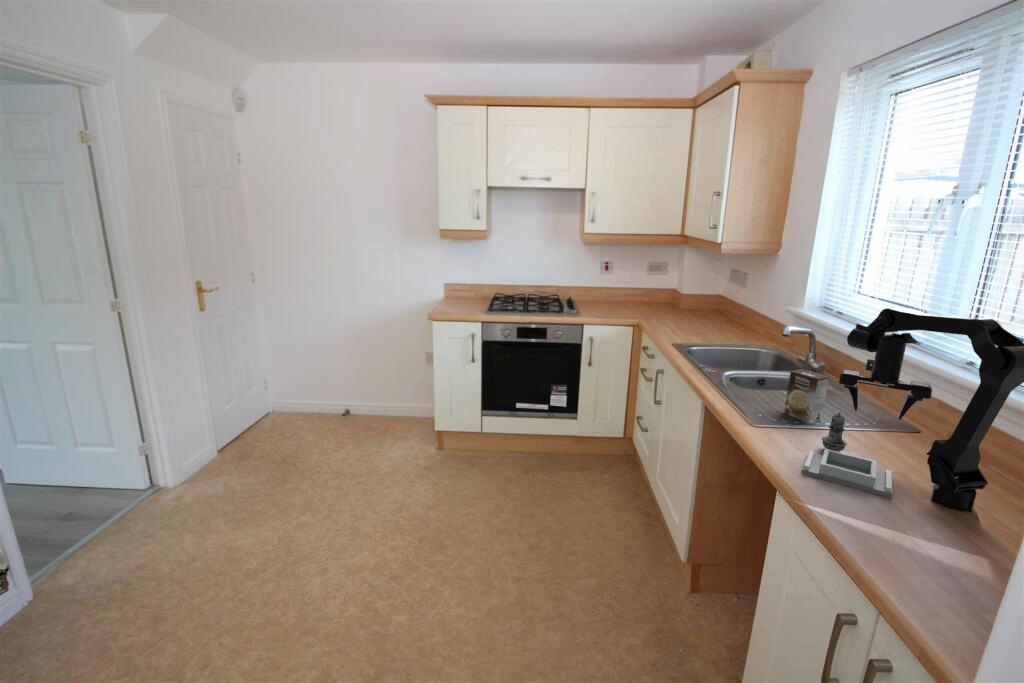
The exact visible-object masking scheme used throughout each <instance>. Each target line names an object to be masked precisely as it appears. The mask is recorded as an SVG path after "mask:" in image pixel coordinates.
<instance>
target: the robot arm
mask: <svg viewBox="0 0 1024 683" xmlns="http://www.w3.org/2000/svg"><path fill="white" fill-rule="evenodd" d="M910 331H911V332H913V331H924V332H932V333H933V332H935V333H942V334H951V335H961V336H966V337H968V338H969V340H970V343H971V346H972V350H973V352H974V353H975V354H976V355H977V357H978V358H979V359H980V364H979V366H978V373H979V374H978V375H979V381H980V383H979V385H978V387H977V388H976V390H975V392H974V394H973V395H972V397H971V399H970V400H969V403H968V405H967V407H966V409H965V410H964V412H963V413H962V415H961V418H960V419H959V421H958V423H957V424H956V427H955V428H954V430H953V432H952V434H951V435H950V437H949V438H946V439H945V438H944V439H934V441H933V442H932V443H931V448H930V450H929V451H928V452H927V453H926V456H928V457H927V460H926V464H927V465H928V468H929V473H930V482H931V483H932V484H933V485H932V489H931V492H930V501H931V502H933V503H936V504H939V505H941V506H942V507H945V508H946V509H950V510H952V511H957V512H968V513H972V512H973V508H974V505H975V501H976V497H977V490H984V489H985V488H986V487H987V485H989V482H988V480H987V479H986V477H985V476H984V474H983V473H982V471H981V469H980V468H979V465H980V461H981V459H982V458H981V453H980V445H981V444H982V441H983V440H984V438H985V436H986V435H987V433H988V431H989V430H990V428H991V427H992V424H994V421H995V419H996V418H997V416H998V414H999V413H1000V411H1001V409H1002V407H1003V406H1004V404H1005V402H1006V401H1007V399H1008V397H1009V396H1010V394H1011V393H1012V392H1013V390H1015V389H1016V388H1019V386H1020V385H1022V384H1024V342H1023V341H1022V339H1020V338H1019V337H1017V336H1015V335H1014V334H1012V333H1011V332H1010V331H1008V330H1006V329H1005V328H1003V326H1002V325H1001V324H1000V323H999V322H998V321H997V320H994V318H991V317H990V318H989V317H987V318H984V317H983V318H981V317H979V318H975V317H965V316H964V317H963V316H952V315H951V316H950V315H936V314H928V313H925V312H923V311H920V310H916V309H913V308H910V307H909V308H908V307H901V308H900V307H899V308H898V307H894V308H893V307H892V308H891V307H890V308H889V307H888V308H883V309H882V310H881V311H880V312H879V314H878V316H877V317H875V318H874V320H872V321H871V323H869V324H866V323H856V324H855V327H854V328H852V330H851V331H850V332H849V334H847V337H846V338H847V339H846V341H847V344H848V346H849V347H850V348H854V349H858V350H861V351H865V352H867V353H868V352H869V353H875V355H874V359H870V358H867V360H866V366H865V370H864V371H865V372H869V373H871V374H870V377H869V376H863V375H860V372H859V371H855V370H848V369H844V370H841V371H840V375H839V379H838V384H840V385H844V386H843V387H844V388H845V389H848V391H849V393H850V396H851V398H852V404H853V407H854V408H853V410H854V411H855V412H857V411H858V407H859V386H860V384H863V385H870V386H877V387H882V388H887V389H893V390H899V391H906V395H905V398H904V401H903V403H902V406H901V409H900V410H899V411H900V412H899V414H898V420H899V421H900V420H902V419H903V417H904V416H905V414H906V413H907V412H908V411H909V409H910V408H911V407H912V406H914V405H915V403H917V402H923V400H924V399H926V400H929V399H930V400H931V398H932V395H933V394H932V393H933V387H932V385H931V384H930V383H929V382H926V381H919V380H918V381H917V380H911V382H910V383H907V382H901V381H899V380H900V377H901V371H902V366H903V364H904V363H903V362H904V357H905V352H906V348H907V344H917V343H918V342H917V340H916V339H915V338H914V337H913V336H912V334H911V332H910ZM898 332H902V333H900V334H899V333H898ZM886 333H887V334H886Z"/></svg>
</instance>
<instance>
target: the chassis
mask: <svg viewBox="0 0 1024 683" xmlns="http://www.w3.org/2000/svg"><path fill="white" fill-rule="evenodd" d="M824 449H825V451H823V453H822V455H819V454H815V451H814V450H809V452H808V454H807V455H806V459H805V462H804V464H803V466H802V469H801V474H802V475H805V476H808V477H812V478H816V479H819V480H823V481H826V482H830V483H832V484H833V483H834V484H837V485H841V486H844V487H847V488H848V487H849V488H853V489H854V490H855V489H856V490H859V491H863V492H867V493H870V494H873V495H878V496H881V497H884V498H887V499H892V497H893V473H892V470H891V469H885V471H883V470H879V469H877V462H878V461H877V460H874V459H870V458H865V457H862V456H859V455H858V456H857V455H854V454H849V453H845V452H842V451H840V452H837V451H833V450H829V449H826V448H824Z"/></svg>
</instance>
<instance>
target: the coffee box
mask: <svg viewBox="0 0 1024 683" xmlns="http://www.w3.org/2000/svg"><path fill="white" fill-rule="evenodd" d="M829 381H830V376H827V375H824V374H820V373H817V372H815V371H814V372H813V371H810V370H807V369H804V368H802V369H801V368H800V369H795V370H791V371H790V373H789V380H788V386H787V393H786V397H785V398H786V399H785V405H784V410H783V413H784V414H786V415H788V416H790V417H793V418H795V419H796V420H800V421H801V422H804V423H806V424H808V423H811V424H815V422H816V423H818V422H819V423H820V422H821V421H822V418H823V413H824V407H825V402H826V397H827V392H828V387H829Z"/></svg>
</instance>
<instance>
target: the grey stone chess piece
mask: <svg viewBox="0 0 1024 683" xmlns="http://www.w3.org/2000/svg"><path fill="white" fill-rule="evenodd" d="M845 419H846V418H845V417H844V416H843V415H841V412H840V411H839V412H837V414H835V415H834V414H833V415H832V418H831V421H830V425H829V426H828V428H829V431H828V434H827V436H822V437H821V440H822V445H823V447H824V449H823V450H822V451H823V452H824V451H825V449H829V450H833V451H837V452H842V451H844V449H845V448H846V446H847V445H848V443H847V442H846V441H845V440H843V433H844V431H845V430H846V429H845V428H844V427H845V426H844V425H845Z"/></svg>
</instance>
